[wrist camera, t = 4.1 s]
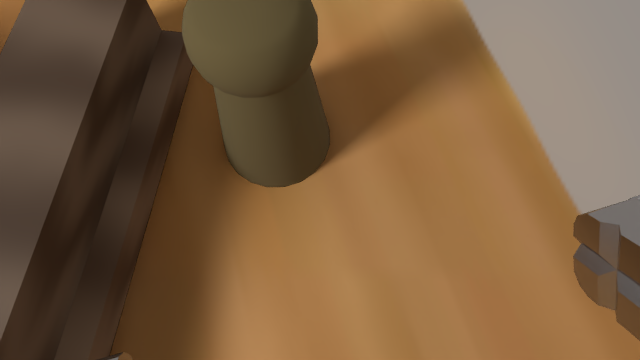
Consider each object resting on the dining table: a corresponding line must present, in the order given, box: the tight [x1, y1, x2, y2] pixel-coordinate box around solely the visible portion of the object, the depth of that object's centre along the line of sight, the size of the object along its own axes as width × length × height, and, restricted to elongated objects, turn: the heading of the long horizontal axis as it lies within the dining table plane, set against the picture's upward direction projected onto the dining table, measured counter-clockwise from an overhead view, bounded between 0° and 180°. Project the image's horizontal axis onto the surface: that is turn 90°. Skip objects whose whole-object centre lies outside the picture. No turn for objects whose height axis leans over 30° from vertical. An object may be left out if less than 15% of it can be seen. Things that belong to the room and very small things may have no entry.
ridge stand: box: [0, 0, 193, 360], centre depth 22 cm, size 26×8×6 cm, turn 172°
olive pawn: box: [182, 0, 330, 187], centre depth 22 cm, size 6×6×11 cm
